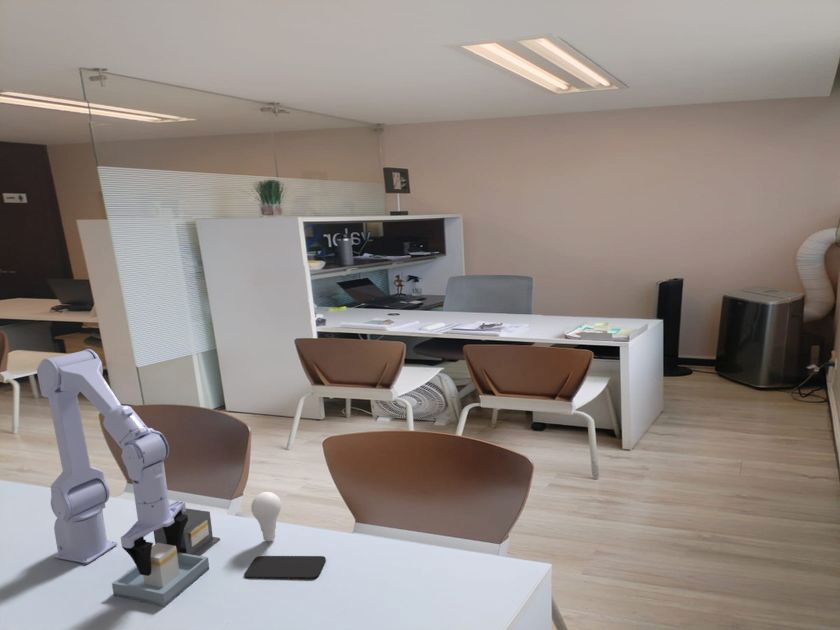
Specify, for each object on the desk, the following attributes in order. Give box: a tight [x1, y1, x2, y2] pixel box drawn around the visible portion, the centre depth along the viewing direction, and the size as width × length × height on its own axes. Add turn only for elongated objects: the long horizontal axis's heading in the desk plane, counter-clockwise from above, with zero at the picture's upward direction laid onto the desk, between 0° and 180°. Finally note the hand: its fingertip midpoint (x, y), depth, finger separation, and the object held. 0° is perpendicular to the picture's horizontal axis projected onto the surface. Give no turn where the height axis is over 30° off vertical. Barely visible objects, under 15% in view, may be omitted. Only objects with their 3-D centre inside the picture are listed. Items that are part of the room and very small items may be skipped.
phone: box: [243, 555, 327, 581], centre depth 121 cm, size 7×1×15 cm
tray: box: [111, 552, 210, 607], centre depth 119 cm, size 12×12×2 cm
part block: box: [143, 543, 180, 587], centre depth 118 cm, size 5×5×6 cm
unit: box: [153, 507, 221, 556], centre depth 130 cm, size 10×10×8 cm
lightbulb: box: [251, 491, 282, 542], centre depth 131 cm, size 6×6×11 cm
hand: (160, 562), depth 118 cm, fingers open, 7 cm apart
